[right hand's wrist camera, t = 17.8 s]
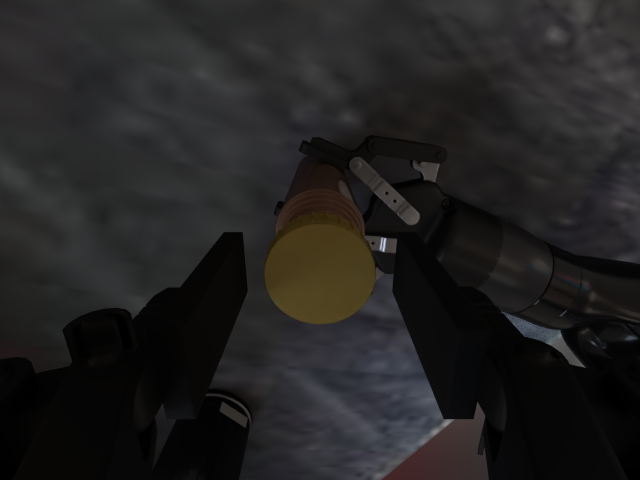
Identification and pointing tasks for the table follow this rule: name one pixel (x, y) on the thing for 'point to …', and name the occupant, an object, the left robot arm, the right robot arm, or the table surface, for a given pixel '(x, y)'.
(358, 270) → the cap
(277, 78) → the table surface
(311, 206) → the bottle
